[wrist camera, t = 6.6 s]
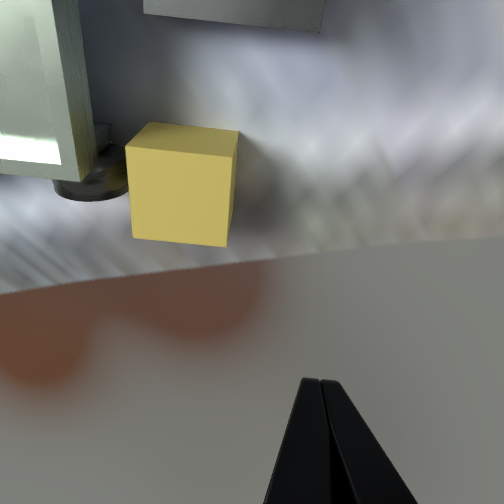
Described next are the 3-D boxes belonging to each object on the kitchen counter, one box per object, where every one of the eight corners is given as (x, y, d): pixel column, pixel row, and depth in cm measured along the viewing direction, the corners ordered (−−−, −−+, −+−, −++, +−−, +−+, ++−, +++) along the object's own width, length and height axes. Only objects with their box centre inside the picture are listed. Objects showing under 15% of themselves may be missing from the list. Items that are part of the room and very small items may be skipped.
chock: (239, 130, 18) (232, 157, 15) (233, 210, 20) (226, 247, 17) (149, 120, 18) (124, 146, 15) (153, 201, 20) (133, 237, 17)
